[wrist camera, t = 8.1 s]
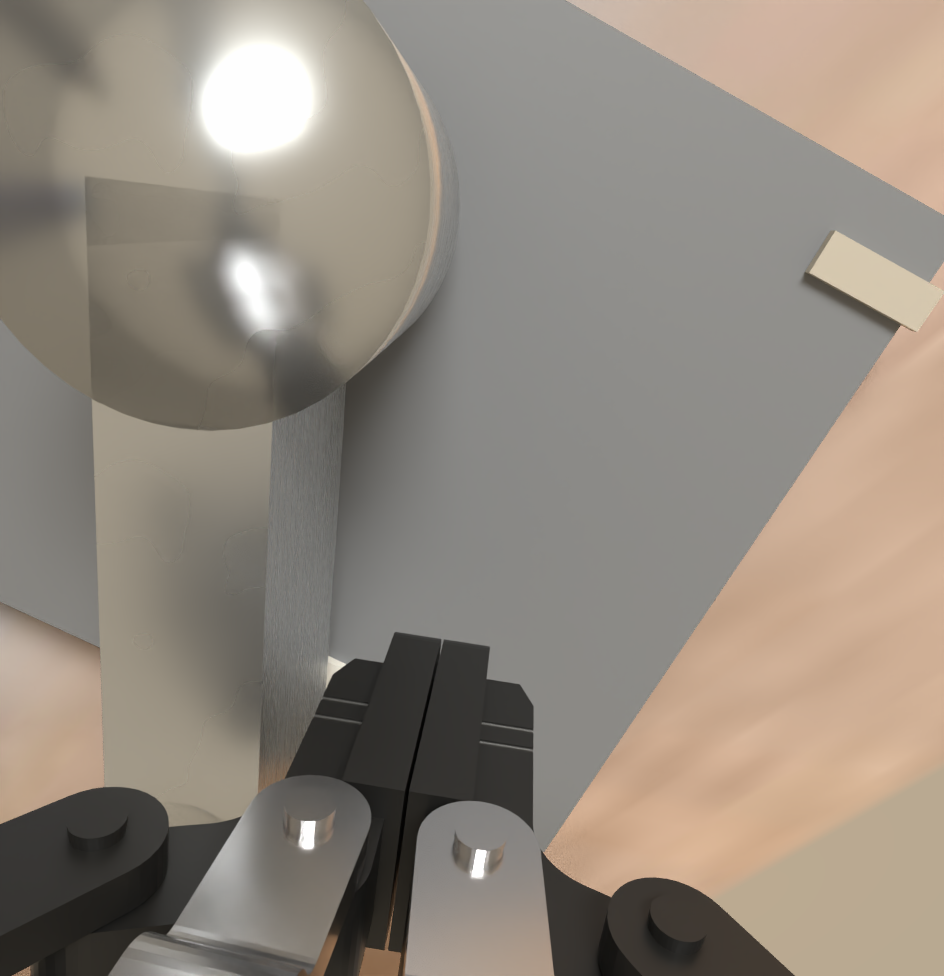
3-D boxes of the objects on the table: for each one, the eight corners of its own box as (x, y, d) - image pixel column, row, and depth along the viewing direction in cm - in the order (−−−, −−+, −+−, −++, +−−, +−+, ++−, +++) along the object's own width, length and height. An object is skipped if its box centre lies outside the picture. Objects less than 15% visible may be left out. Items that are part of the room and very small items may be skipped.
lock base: (-38, 532, 17) (-98, 564, 15) (190, -185, 13) (141, -246, 11) (550, 806, 18) (553, 863, 16) (930, 234, 14) (984, 234, 12)
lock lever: (121, -11, 11) (-88, -135, 7) (478, 31, 11) (456, -74, 7) (134, 726, 15) (1, 898, 11) (402, 763, 15) (360, 948, 11)
